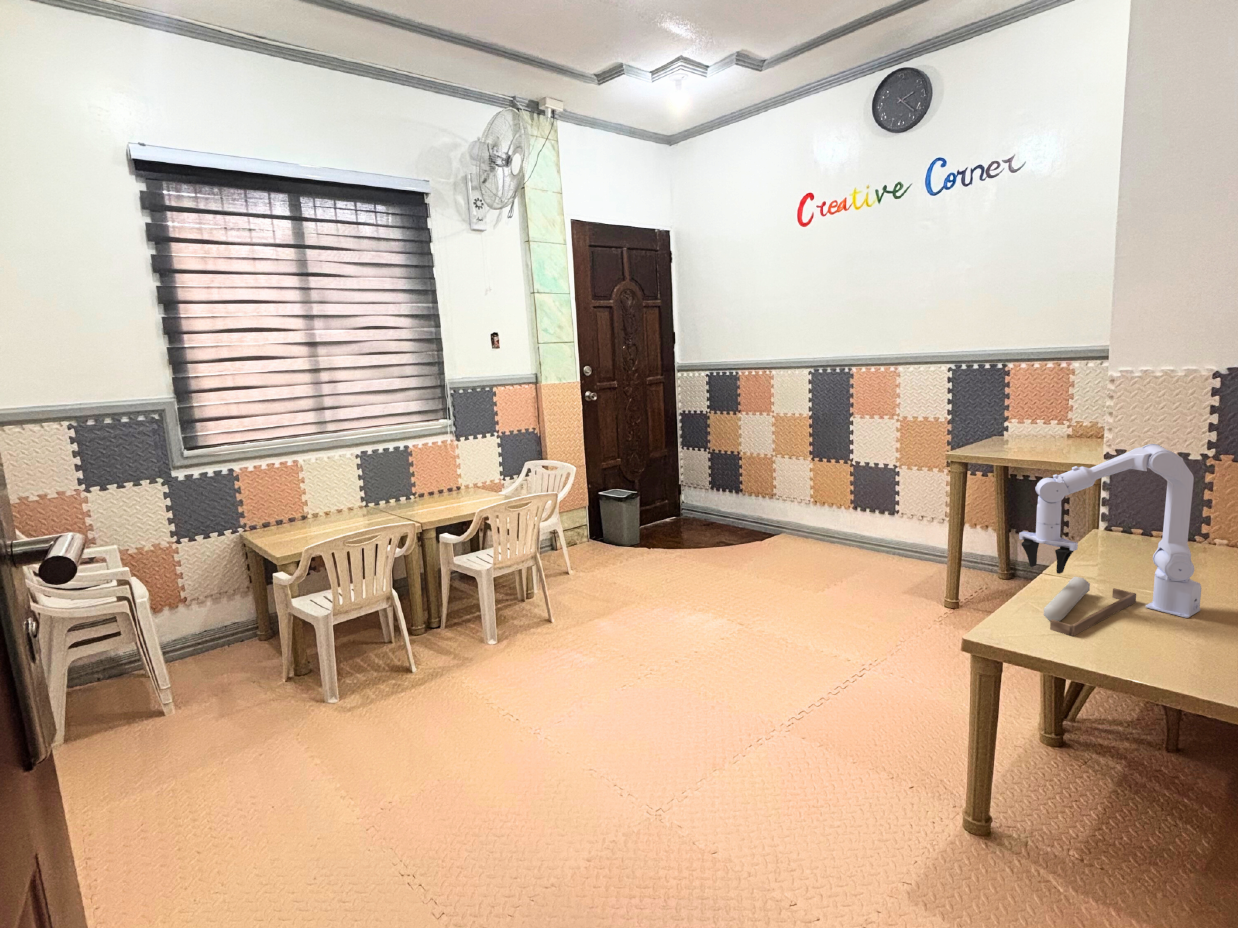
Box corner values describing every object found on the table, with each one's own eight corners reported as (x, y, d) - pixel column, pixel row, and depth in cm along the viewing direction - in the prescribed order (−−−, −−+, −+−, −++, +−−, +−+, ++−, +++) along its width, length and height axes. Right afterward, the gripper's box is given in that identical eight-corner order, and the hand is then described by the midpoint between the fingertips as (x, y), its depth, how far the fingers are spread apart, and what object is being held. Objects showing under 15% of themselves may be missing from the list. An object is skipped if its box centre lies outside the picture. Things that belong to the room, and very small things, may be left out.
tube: (1066, 612, 181) (1093, 582, 197) (1044, 601, 184) (1073, 573, 201) (1058, 629, 183) (1085, 598, 200) (1036, 618, 186) (1065, 588, 203)
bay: (1135, 602, 192) (1136, 593, 192) (1072, 636, 176) (1073, 626, 175) (1113, 596, 197) (1114, 587, 196) (1050, 629, 181) (1050, 620, 180)
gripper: (1013, 519, 197) (1012, 566, 199) (1068, 530, 184) (1066, 579, 187) (1027, 514, 200) (1026, 560, 203) (1082, 525, 188) (1080, 573, 191)
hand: (1046, 569), depth 195 cm, fingers open, 7 cm apart
